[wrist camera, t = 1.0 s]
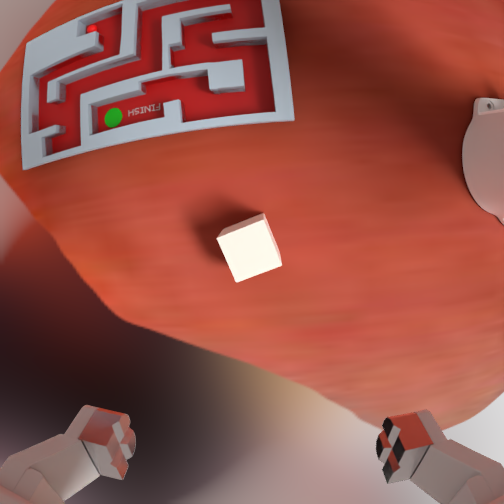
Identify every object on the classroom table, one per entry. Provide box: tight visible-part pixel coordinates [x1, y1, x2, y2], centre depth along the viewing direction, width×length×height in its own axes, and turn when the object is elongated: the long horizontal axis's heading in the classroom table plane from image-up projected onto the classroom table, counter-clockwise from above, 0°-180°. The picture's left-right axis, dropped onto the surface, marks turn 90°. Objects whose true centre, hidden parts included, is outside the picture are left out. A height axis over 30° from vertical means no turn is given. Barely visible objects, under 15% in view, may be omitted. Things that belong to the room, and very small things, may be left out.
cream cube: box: [217, 213, 282, 282], centre depth 34 cm, size 5×5×5 cm
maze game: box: [21, 0, 295, 170], centre depth 30 cm, size 35×20×3 cm, turn 95°
